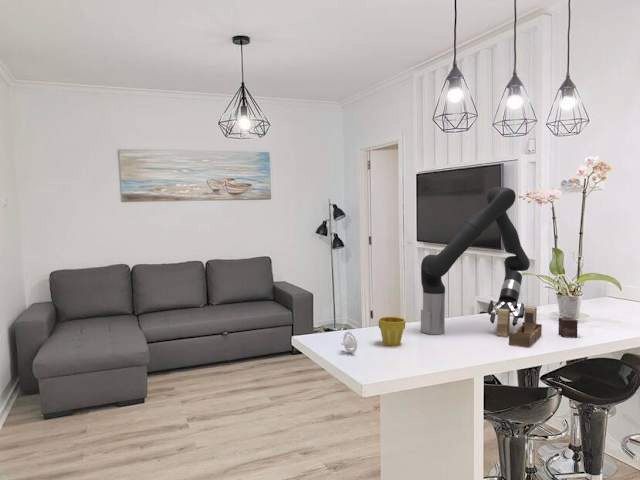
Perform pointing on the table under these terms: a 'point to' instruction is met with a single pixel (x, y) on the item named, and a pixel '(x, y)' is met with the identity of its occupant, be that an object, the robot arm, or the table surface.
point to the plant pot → (391, 330)
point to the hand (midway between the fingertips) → (502, 323)
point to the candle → (519, 298)
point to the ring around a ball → (350, 342)
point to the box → (568, 327)
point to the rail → (524, 336)
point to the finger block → (503, 322)
